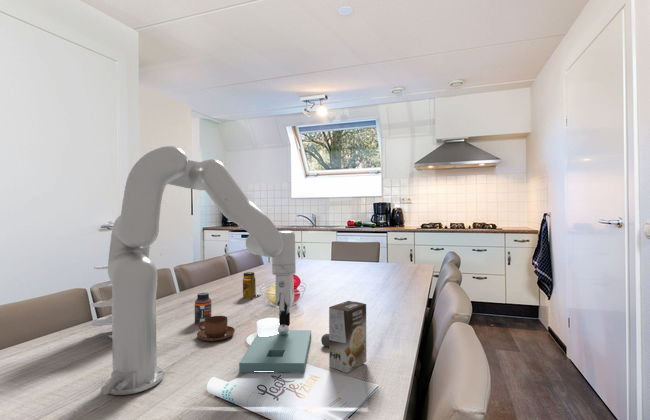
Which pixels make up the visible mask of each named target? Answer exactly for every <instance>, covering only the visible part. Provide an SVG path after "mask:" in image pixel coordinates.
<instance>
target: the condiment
mask: <svg viewBox="0 0 650 420" xmlns="http://www.w3.org/2000/svg"><path fill="white" fill-rule="evenodd" d="M242 274H243V276H242V277H243V278H242V298H243V299H244V298H245V299H244V300H253V299H254V300H255V299H257V298H258V297H260V296H261V294H256V291H257V290H256V278H255V277H256V275H255V272H253V271H246V272H244V273H242ZM256 295H258V296H257V297H256ZM251 298H253V299H251Z"/></svg>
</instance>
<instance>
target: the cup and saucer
mask: <svg viewBox="0 0 650 420" xmlns="http://www.w3.org/2000/svg"><path fill="white" fill-rule="evenodd" d="M201 323H204V325H203V326H204V328H203V327H201V325H200V324H201ZM197 327H198V329H199V331H197V333H196V336H197V338H198V339H199V340H201V341H205V342H217V341H223V340H226V339H228V338H230V337H231V336H233V334H234V333H235V331H236V329H235V328H234V327H233V326H229V325H228V317H227V316H225V315H214V316H213V315H212V316H211V317H209V318H206V319H205V320H204V321H201V322H200V323H199V324H198V325H197ZM206 337H207V338H206Z"/></svg>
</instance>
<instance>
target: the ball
mask: <svg viewBox="0 0 650 420" xmlns="http://www.w3.org/2000/svg"><path fill="white" fill-rule="evenodd" d="M289 327H290V326H287V325H286V324H281V325H279V326H278V328H277V330H278V332H279V334H281V335H286V334H287V333H288V332H289V330H290V329H289Z"/></svg>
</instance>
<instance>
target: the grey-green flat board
mask: <svg viewBox="0 0 650 420" xmlns="http://www.w3.org/2000/svg"><path fill="white" fill-rule="evenodd" d="M311 341H312V330H311V329H310V330H309V329H306V330H305V329H302V330H301V329H298V330H297V329H296V330H295V329H291V330H290V329H289V332H288V333H287V334H286V335H281V334H277V335H274V336H269V337H259V336H258V333H257V334H256V335H255V338H254V339H253V341H252V342H251V344H250V345H249V347H248V349H247V350H246V352H245V353H244V355H243V356H242V358H241V359H240V361H239V363H238V365H239V366H238V368H239V369H238V371H239V373H243V374H245V373H246V374H248V373H250V374H251V372H254V371H274V372H306V367H307V364H308V363H307V362H308V357H309V351H310V346H311Z"/></svg>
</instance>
